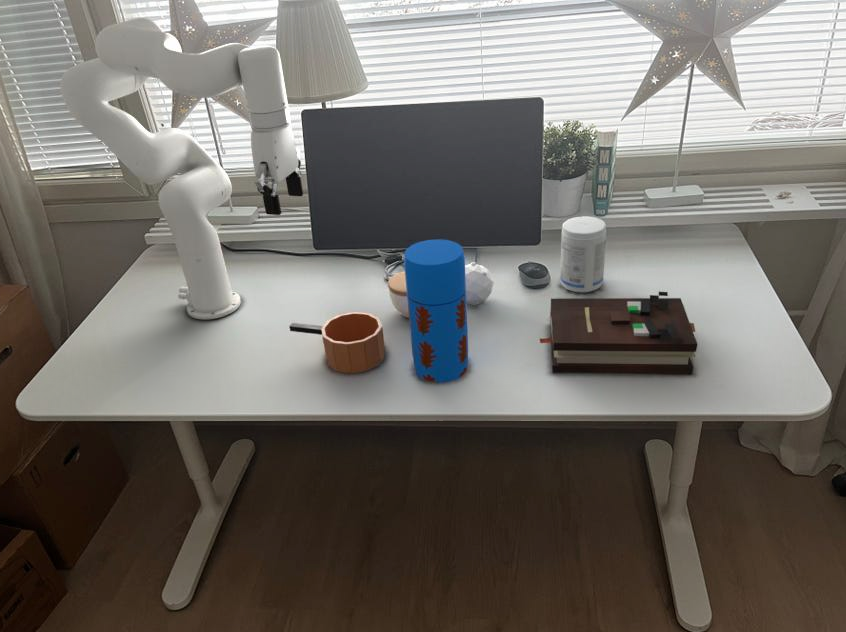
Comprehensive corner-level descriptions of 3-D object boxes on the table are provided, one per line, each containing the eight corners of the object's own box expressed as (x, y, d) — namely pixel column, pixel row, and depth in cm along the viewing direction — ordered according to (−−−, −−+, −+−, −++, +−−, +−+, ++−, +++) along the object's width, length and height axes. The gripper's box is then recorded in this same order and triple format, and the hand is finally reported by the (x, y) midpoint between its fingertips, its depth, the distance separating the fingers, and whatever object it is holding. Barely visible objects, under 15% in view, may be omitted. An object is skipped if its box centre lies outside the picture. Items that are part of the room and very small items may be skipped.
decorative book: (539, 292, 146) (692, 291, 141) (538, 323, 151) (687, 323, 146) (540, 342, 131) (713, 343, 126) (539, 376, 135) (707, 378, 130)
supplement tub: (591, 271, 168) (595, 212, 160) (610, 289, 160) (615, 228, 152) (552, 278, 167) (555, 220, 158) (569, 297, 159) (573, 236, 151)
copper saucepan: (282, 364, 146) (276, 335, 142) (307, 334, 155) (302, 306, 151) (372, 376, 140) (368, 346, 136) (392, 344, 149) (389, 315, 145)
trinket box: (434, 324, 154) (432, 285, 149) (386, 322, 156) (382, 285, 151) (442, 300, 163) (439, 262, 157) (396, 298, 165) (392, 262, 160)
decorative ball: (504, 302, 164) (507, 267, 154) (470, 327, 161) (471, 293, 151) (477, 280, 168) (479, 245, 158) (444, 304, 165) (443, 270, 155)
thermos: (452, 389, 134) (445, 270, 120) (403, 375, 139) (392, 259, 125) (478, 359, 141) (474, 244, 127) (431, 347, 146) (423, 235, 133)
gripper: (273, 105, 141) (288, 188, 151) (228, 131, 128) (247, 220, 138) (307, 105, 139) (320, 189, 148) (265, 132, 126) (282, 223, 135)
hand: (285, 204), depth 143 cm, fingers open, 9 cm apart
